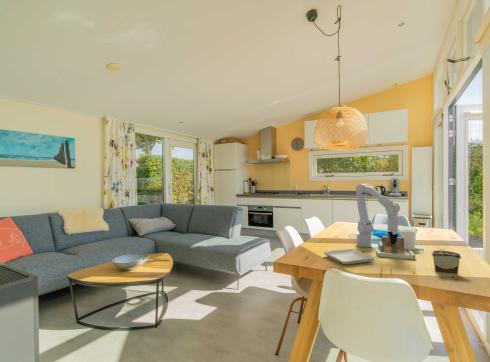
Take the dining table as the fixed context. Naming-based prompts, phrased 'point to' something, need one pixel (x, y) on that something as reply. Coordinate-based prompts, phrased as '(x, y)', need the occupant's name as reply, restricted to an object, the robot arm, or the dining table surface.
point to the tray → (396, 255)
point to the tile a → (387, 249)
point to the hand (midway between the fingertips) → (392, 243)
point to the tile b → (400, 252)
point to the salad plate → (349, 256)
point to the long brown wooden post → (399, 243)
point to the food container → (446, 262)
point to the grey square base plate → (393, 249)
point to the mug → (409, 239)
